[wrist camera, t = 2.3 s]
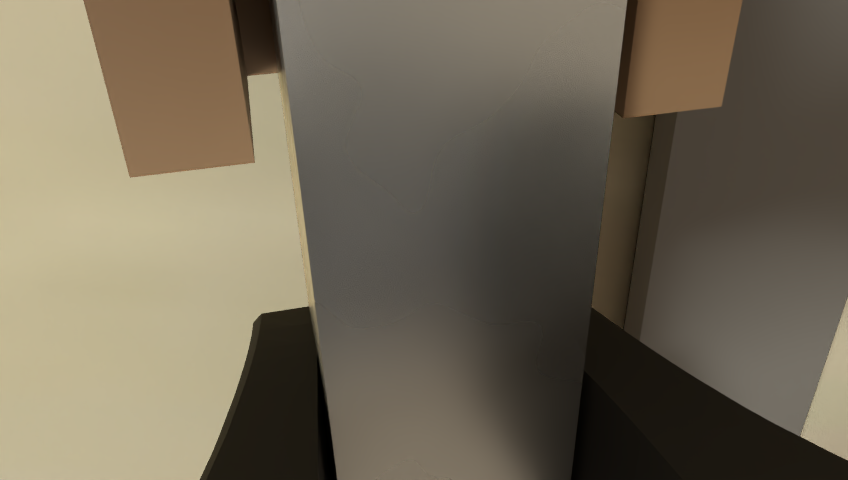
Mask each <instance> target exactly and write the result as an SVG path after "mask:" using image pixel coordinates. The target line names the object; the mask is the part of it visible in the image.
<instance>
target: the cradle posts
mask: <svg viewBox="0 0 848 480" xmlns="http://www.w3.org/2000/svg"><path fill="white" fill-rule="evenodd" d="M742 1H743V0H627V7H626V15H625V24H624V32H623V41H622V49H621V58H620V66H619V75H618V83H617V92H616V100H615V109H614V111H615V112H616V113H617V114H619V115H620V116H621V117H622V118H630V117H639V116H647V115H656V114H664V113H672V112H681V111H689V110H697V109H706V108H714V107H722V101H723V96H724V91H725V86H726V81H727V76H728V71H729V66H730V61H731V56H732V51H733V46H734V41H735V36H736V31H737V26H738V21H739V16H740V11H741V6H742ZM84 4H85V8H86V11H87V15H88V19H89V23H90V27H91V31H92V34H93V38H94V42H95V46H96V50H97V53H98V57H99V61H100V65H101V69H102V73H103V76H104V80H105V84H106V88H107V92H108V95H109V99H110V103H111V107H112V111H113V115H114V118H115V122H116V126H117V130H118V134H119V138H120V141H121V145H122V149H123V153H124V157H125V160H126V164H127V168H128V172H129V176H130V177H138V176H146V175H154V174H163V173H171V172H179V171H188V170H196V169H204V168H213V167H221V166H230V165H238V164H246V163H255V160H254V148H253V137H252V126H251V115H250V104H249V92H248V81H247V76H250V75H260V74H270V73H278V69H277V61H276V54H275V46H274V39H273V31H272V24H271V16H270V9H269V1H268V0H84Z"/></svg>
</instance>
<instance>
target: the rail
mask: <svg viewBox="0 0 848 480" xmlns="http://www.w3.org/2000/svg"><path fill="white" fill-rule="evenodd" d="M268 1H269V9H270V16H271V24H272V31H273V39H274V46H275V54H276V61H277V69H278V77H279V84H280V92H281V99H282V107H283V114H284V122H285V129H286V137H287V144H288V152H289V159H290V167H291V175H292V182H293V190H294V197H295V205H296V212H297V220H298V227H299V235H300V242H301V250H302V257H303V265H304V272H305V280H306V288H307V295H308V303H309V310H310V316H311V321H312V326H313V332H314V337H315V343H316V348H317V355H318V362H319V370H320V378H321V385H322V393H323V401H324V408H325V416H326V424H327V431H328V439H329V447H330V454H331V462H332V469H333V477H334V480H571V474H572V466H573V457H574V449H575V440H576V432H577V423H578V415H579V406H580V398H581V389H582V381H583V372H584V364H585V355H586V347H587V338H588V330H589V321H590V313H591V304H592V296H593V287H594V279H595V270H596V262H597V253H598V245H599V236H600V228H601V219H602V211H603V202H604V194H605V185H606V177H607V168H608V160H609V151H610V143H611V134H612V126H613V117H614V109H615V100H616V92H617V83H618V75H619V66H620V58H621V49H622V41H623V32H624V24H625V15H626V7H627V0H268Z"/></svg>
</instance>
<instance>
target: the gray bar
mask: <svg viewBox="0 0 848 480" xmlns="http://www.w3.org/2000/svg"><path fill="white" fill-rule="evenodd" d="M847 297H848V0H743V1H742V6H741V11H740V16H739V21H738V26H737V31H736V36H735V41H734V46H733V51H732V56H731V61H730V66H729V71H728V76H727V81H726V86H725V91H724V96H723V101H722V107H714V108H706V109H697V110H689V111H681V112H672V113H664V114H656V118H655V125H654V132H653V138H652V145H651V152H650V159H649V165H648V172H647V179H646V185H645V192H644V199H643V205H642V212H641V219H640V225H639V232H638V239H637V245H636V252H635V259H634V265H633V272H632V279H631V285H630V292H629V299H628V305H627V312H626V319H625V326H624V331H626V332H627V333H629V334H630V335H631V336H633V337H634V338H636V339H637V340H639V341H640V342H642V343H643V344H645V345H646V346H648V347H649V348H651V349H652V350H654V351H655V352H657V353H658V354H660V355H661V356H663V357H664V358H666V359H667V360H669V361H670V362H672V363H673V364H675V365H676V366H678V367H680V368H681V369H683V370H684V371H686V372H687V373H689V374H691V375H692V376H694V377H695V378H697V379H699V380H700V381H702V382H704V383H705V384H707V385H709V386H710V387H712V388H714V389H715V390H717V391H719V392H720V393H722V394H724V395H725V396H727V397H729V398H730V399H732V400H734V401H735V402H737V403H739V404H740V405H742V406H744V407H746V408H747V409H749V410H751V411H753V412H754V413H756V414H758V415H760V416H762V417H763V418H765V419H767V420H769V421H771V422H773V423H774V424H776V425H778V426H780V427H782V428H784V429H786V430H788V431H790V432H792V433H794V434H796V435H798V436H800V435H801V432H802V429H803V426H804V423H805V420H806V417H807V414H808V411H809V408H810V405H811V402H812V400H813V397H814V394H815V391H816V388H817V385H818V382H819V379H820V376H821V373H822V370H823V367H824V365H825V362H826V359H827V356H828V353H829V350H830V347H831V344H832V341H833V338H834V335H835V332H836V329H837V327H838V324H839V321H840V318H841V315H842V312H843V309H844V306H845V303H846V300H847Z"/></svg>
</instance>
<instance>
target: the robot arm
mask: <svg viewBox="0 0 848 480" xmlns="http://www.w3.org/2000/svg"><path fill="white" fill-rule="evenodd" d="M200 480H334V477H333V469H332V462H331V454H330V447H329V439H328V431H327V424H326V416H325V408H324V401H323V393H322V385H321V378H320V370H319V362H318V355H317V348H316V343H315V337H314V332H313V326H312V321H311V316H310V310H309V307H302V308H296V309H289V310H283V311H277V312H270V313H264V314H261V315H260V316H259V317H258V318H257V319H256V320H255V322H254V323H253V330H252V337H251V341H250V346H249V350H248V354H247V358H246V361H245V365H244V368H243V371H242V375H241V378H240V381H239V384H238V387H237V390H236V393H235V396H234V398H233V401H232V404H231V406H230V409H229V412H228V414H227V417H226V420H225V422H224V425H223V427H222V430H221V433H220V435H219V438H218V440H217V443H216V445H215V448H214V450H213V452H212V455H211V457H210V459H209V461H208V463H207V465H206V468H205V470H204V472H203V474H202V476H201V478H200ZM571 480H848V460H845V459H843V458H841V457H839V456H837V455H835V454H833V453H831V452H829V451H827V450H825V449H823V448H821V447H819V446H817V445H815V444H813V443H811V442H809V441H808V440H806V439H804V438H802V437H800V436H798V435H796V434H794V433H792V432H790V431H788V430H786V429H784V428H782V427H780V426H778V425H776V424H774V423H773V422H771V421H769V420H767V419H765V418H763V417H762V416H760V415H758V414H756V413H754V412H753V411H751V410H749V409H747V408H746V407H744V406H742V405H740V404H739V403H737V402H735V401H734V400H732V399H730V398H729V397H727V396H725V395H724V394H722V393H720V392H719V391H717V390H715V389H714V388H712V387H710V386H709V385H707V384H705V383H704V382H702V381H700V380H699V379H697V378H695V377H694V376H692V375H691V374H689V373H687V372H686V371H684V370H683V369H681V368H680V367H678V366H676V365H675V364H673V363H672V362H670V361H669V360H667V359H666V358H664V357H663V356H661V355H660V354H658V353H657V352H655V351H654V350H652V349H651V348H649V347H648V346H646V345H645V344H643V343H642V342H640V341H639V340H637V339H636V338H634V337H633V336H631V335H630V334H629V333H627V332H626V331H624V330H623V329H621V328H620V327H619V326H617V325H616V324H614V323H613V322H611V321H610V320H609V319H607V318H606V317H604V316H603V315H602V314H600V313H599V312H597V311H596V310H595V309H593V308H592V307H591V313H590V321H589V330H588V338H587V347H586V355H585V364H584V372H583V381H582V389H581V398H580V406H579V415H578V423H577V432H576V440H575V449H574V457H573V466H572V474H571Z"/></svg>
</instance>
